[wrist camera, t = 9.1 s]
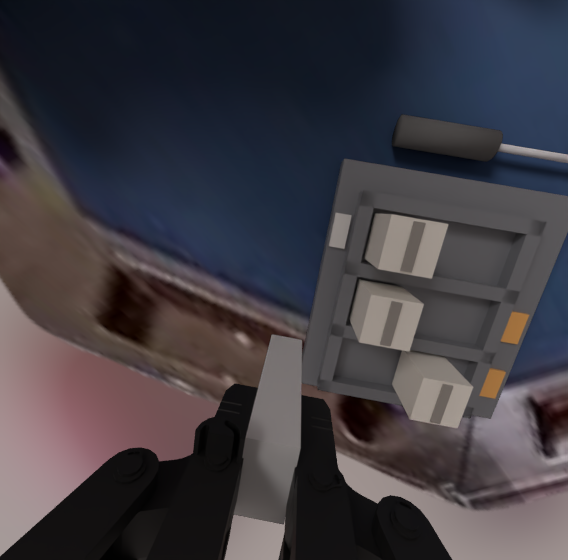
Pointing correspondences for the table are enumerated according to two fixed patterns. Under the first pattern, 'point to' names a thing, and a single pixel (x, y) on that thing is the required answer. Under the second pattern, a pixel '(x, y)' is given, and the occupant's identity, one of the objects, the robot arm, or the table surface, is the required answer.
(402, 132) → the screwdriver
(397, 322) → the white grooved block
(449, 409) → the small white box
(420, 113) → the table surface
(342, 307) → the switch bank
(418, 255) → the small white box
